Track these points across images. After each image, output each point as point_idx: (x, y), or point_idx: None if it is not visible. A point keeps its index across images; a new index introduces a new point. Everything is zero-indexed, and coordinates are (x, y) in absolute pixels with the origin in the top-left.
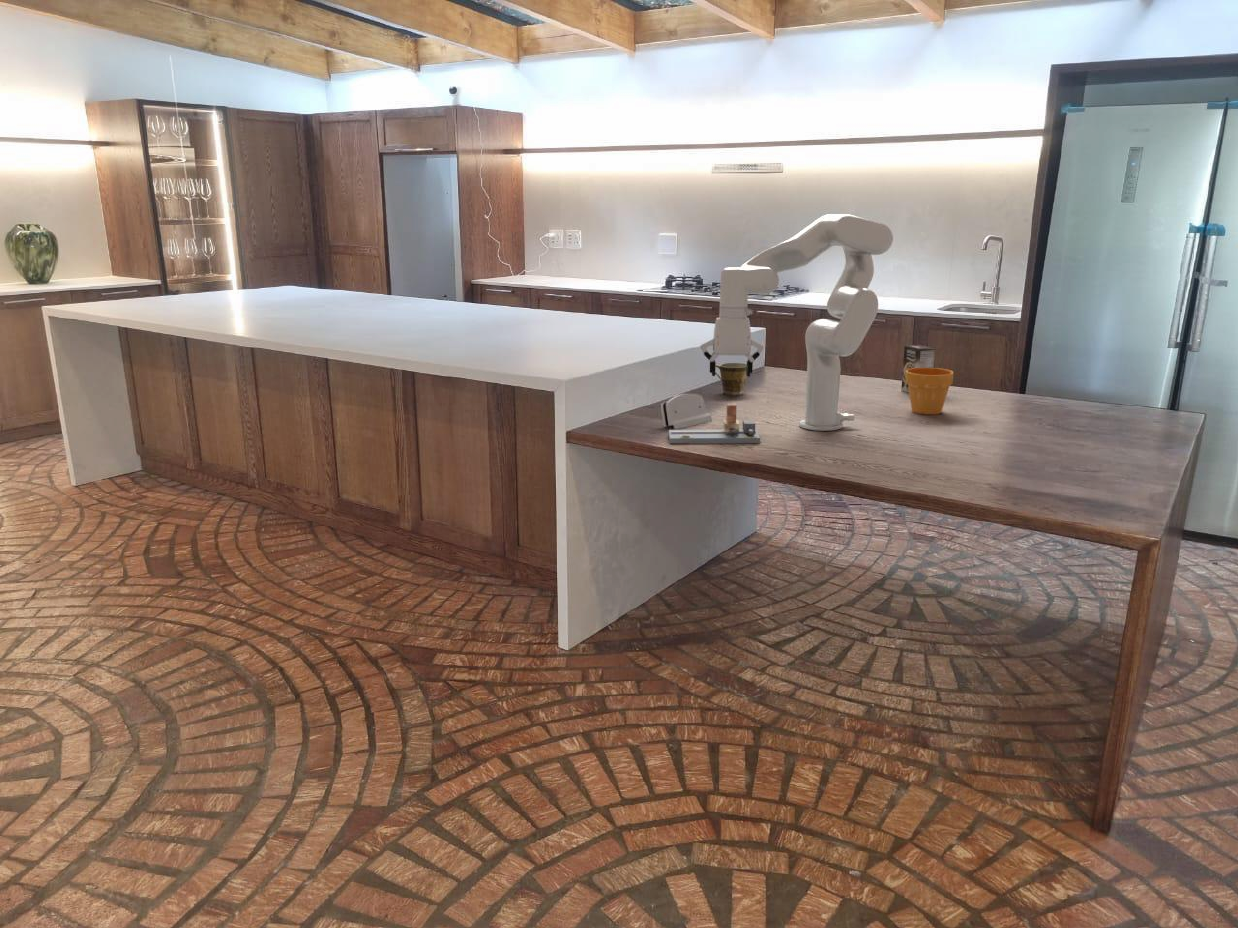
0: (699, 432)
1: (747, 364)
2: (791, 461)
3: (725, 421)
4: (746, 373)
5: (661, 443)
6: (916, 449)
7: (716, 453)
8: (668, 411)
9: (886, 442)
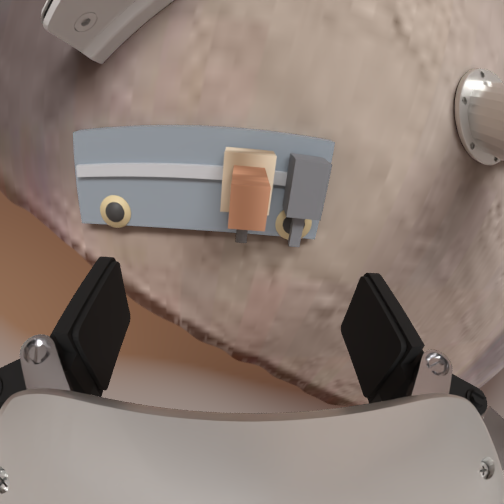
0: (149, 176)
1: (370, 374)
2: (317, 347)
3: (227, 178)
4: (359, 295)
5: (72, 213)
6: (493, 292)
7: (189, 300)
8: (60, 38)
9: (496, 256)
